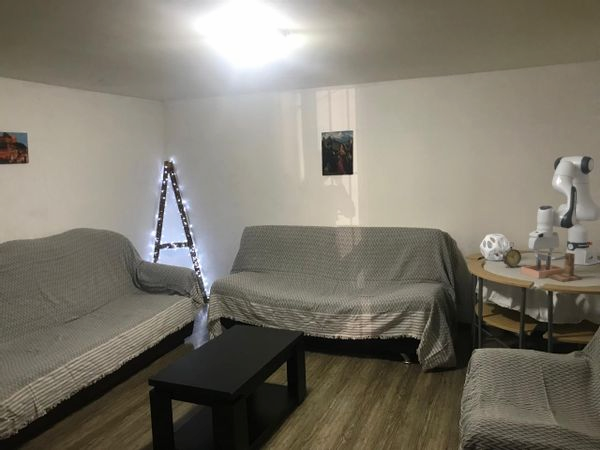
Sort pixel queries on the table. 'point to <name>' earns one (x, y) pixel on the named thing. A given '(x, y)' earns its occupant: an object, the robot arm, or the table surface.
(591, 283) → the table surface
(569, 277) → the stand
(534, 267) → the dish
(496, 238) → the decorative ball
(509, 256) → the alarm clock
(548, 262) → the grey rectangular frame
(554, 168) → the robot arm
